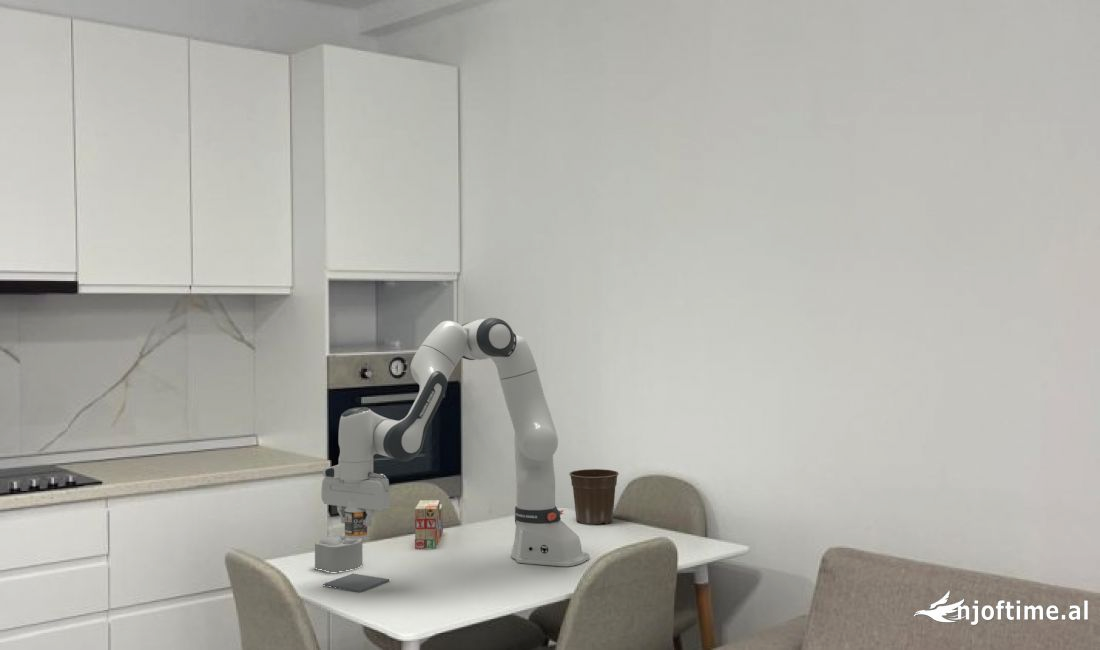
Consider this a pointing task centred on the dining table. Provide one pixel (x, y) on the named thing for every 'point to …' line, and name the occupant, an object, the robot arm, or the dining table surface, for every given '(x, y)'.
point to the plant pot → (594, 495)
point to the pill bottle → (354, 521)
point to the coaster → (356, 582)
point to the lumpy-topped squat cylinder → (338, 553)
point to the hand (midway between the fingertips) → (356, 524)
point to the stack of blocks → (428, 524)
